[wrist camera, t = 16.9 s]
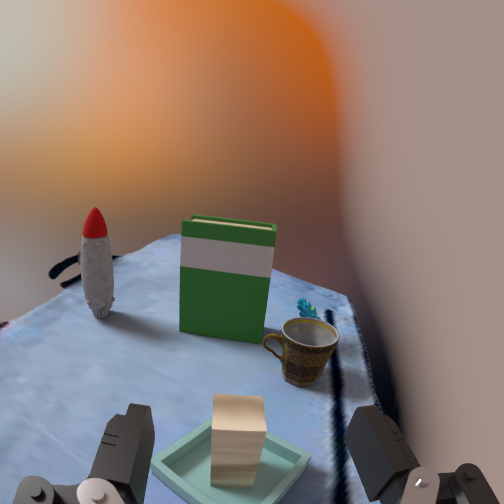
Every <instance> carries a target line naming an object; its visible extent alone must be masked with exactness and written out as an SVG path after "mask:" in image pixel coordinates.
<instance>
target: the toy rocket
mask: <svg viewBox="0 0 504 504" xmlns="http://www.w3.org/2000/svg"><path fill="white" fill-rule="evenodd" d="M82 236H83V237H82V243H81V250H80V251H79V252H78V261H79V265H81V276H82V284H83V289H84V293H85V298H86V300H87V304H88V305H89V308H90V309H91V310H92V312H93V315H94V316H95V317H97V318H105V317H107V316H108V315H109V311H110V308H111V307H112V303H113V301H115V298H114V297H113V292H114V278H113V264H112V255H111V249H110V244H109V240H108V236H107V227H106V224H105V221H104V218H103V216H102V214H101V212H100V211H99V209H98V208H96V207H95V208H93V209H92V210H91V212H90V214H89V215H88V217H87V219H86V222H85V224H84V228H83V235H82Z"/></svg>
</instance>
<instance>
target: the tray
mask: <svg viewBox="0 0 504 504" xmlns="http://www.w3.org/2000/svg"><path fill="white" fill-rule="evenodd" d="M211 434H212V417H211V418H209V419H208V420H207V421H205V422H204V423H203V424H201V425H200V426H198V427H197V428H196V429H194V430H193V431H191V432H190V433H188V434H187V435H186V436H184V437H183V438H181V439H180V440H178V441H177V442H175V443H174V444H172V445H171V446H169V447H168V448H166V449H165V450H163V451H162V452H160V453H159V454H157V455H155V456H154V457H152V458H151V463H150V468H151V471H152V474H153V475H154V476H155V477H157V478H158V479H159V480H160V481H161V482H162V483H163V484H165V485H166V486H167V487H168V488H169V489H171V490H172V491H173V492H174V493H175V494H177V495H178V496H179V497H180V498H182V499H183V500H184V501H186V502H187V503H188V504H277V503H278V502H279V501H280V500H281V499H282V497H283V496H284V495H285V494H286V493H287V492H288V490H289V489H290V488H291V487H292V485H293V484H294V483H295V482H296V481H297V479H298V478H299V477H300V475H301V474H302V473H303V472H304V470H305V469H306V468H307V465H308V463H309V461H310V459H311V457H312V454H311V453H309V452H307V451H305V450H303V449H301V448H299V447H296V446H294V445H292V444H290V443H288V442H286V441H284V440H282V439H280V438H278V437H277V436H275V435H273V434H271V433H269V432H266V437H265V441H264V445H263V449H262V453H261V457H260V462H259V466H258V470H257V473H256V477H255V481H254V485H253V488H232V487H213V486H210V472H211Z"/></svg>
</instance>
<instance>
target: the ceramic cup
mask: <svg viewBox="0 0 504 504" xmlns="http://www.w3.org/2000/svg"><path fill="white" fill-rule="evenodd" d="M269 338H274V339H276V340H278V341H279V342H280V344H281V346H282V355H281V356H279V355H277V354H276V353H275V352H274V351H273V350H272V349H270V348H269V347H267V346H266V345H265V341H266V340H267V339H269ZM338 340H339V333H338V331H337V330H336V329H335V328H334V327H333V326H332V325H330V324H329V323H327V322H324V321H322V320H319V319H315V318H309V317H297V318H292V319H289V320H287V321H285V322H284V323H283V324H282V327H281V336H279V335H278V334H275V333H271V334H268V335H266V336H265V337H264V339H263V346H264V347H265V348H266V349H267V350H269V351H270V352H272V353H273V354H274V355H275V356H276V357H277V358H279V359H280V361H281V363H282V374H283V377H284V380H285V381H286V382H288V383H290V384H292V385H294V386H297V387H304V386H312V385H313V384H314V383H315V382H316V380H317V379H318V378H319V376H320V375H321V373H322V370H323V369H324V367H325V365H326V363H327V361H328V359H329V357H330V356H331V354H332V353H333V351H334V349H335V347H336V344H337V342H338Z"/></svg>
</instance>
